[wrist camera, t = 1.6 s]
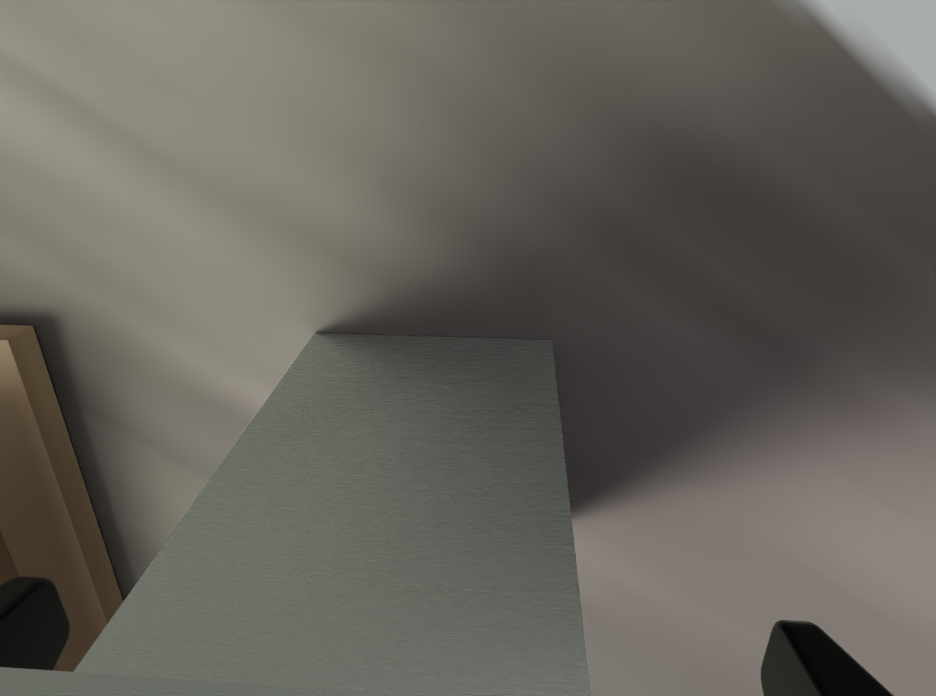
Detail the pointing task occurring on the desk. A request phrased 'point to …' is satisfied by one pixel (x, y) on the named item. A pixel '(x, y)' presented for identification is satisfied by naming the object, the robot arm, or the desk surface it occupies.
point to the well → (48, 498)
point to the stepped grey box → (366, 540)
